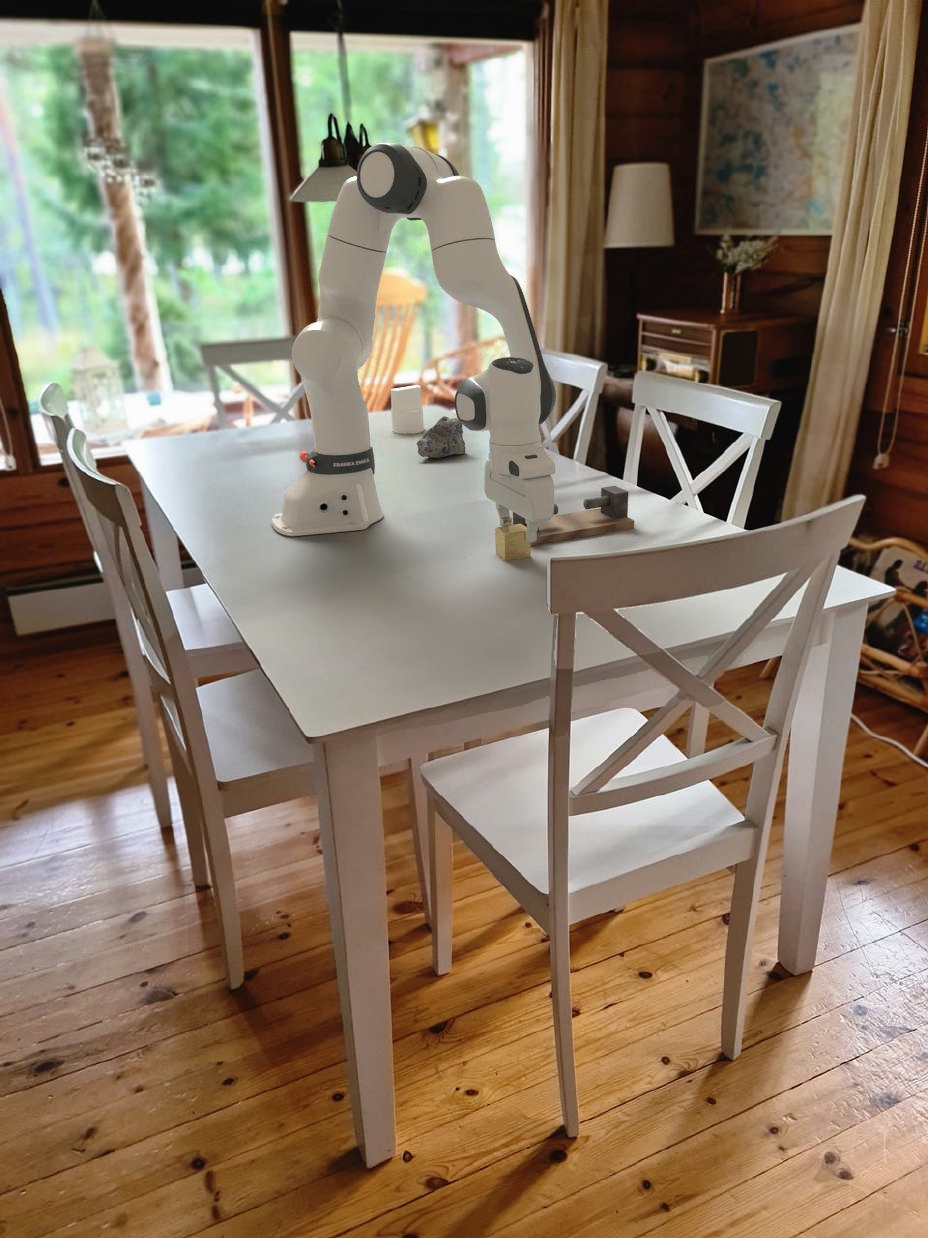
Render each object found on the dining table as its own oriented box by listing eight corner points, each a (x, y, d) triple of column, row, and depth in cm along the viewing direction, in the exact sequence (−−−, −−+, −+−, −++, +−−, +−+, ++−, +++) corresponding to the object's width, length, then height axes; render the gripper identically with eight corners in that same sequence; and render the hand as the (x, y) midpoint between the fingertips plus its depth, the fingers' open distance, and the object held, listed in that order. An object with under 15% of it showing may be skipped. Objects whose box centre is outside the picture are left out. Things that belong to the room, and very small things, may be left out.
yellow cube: (505, 561, 162) (504, 533, 160) (495, 554, 166) (495, 527, 164) (530, 556, 164) (530, 529, 162) (520, 550, 167) (520, 523, 165)
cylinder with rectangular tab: (411, 425, 271) (409, 383, 266) (430, 430, 264) (428, 387, 259) (386, 430, 266) (383, 388, 261) (404, 435, 259) (402, 391, 254)
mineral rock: (418, 462, 229) (416, 422, 225) (413, 453, 239) (411, 414, 235) (469, 459, 231) (468, 419, 227) (463, 449, 241) (461, 410, 237)
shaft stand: (530, 545, 169) (530, 511, 166) (507, 530, 178) (507, 497, 175) (634, 527, 176) (635, 494, 174) (607, 514, 185) (608, 482, 182)
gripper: (473, 447, 166) (477, 521, 171) (526, 471, 148) (528, 553, 154) (505, 443, 168) (507, 516, 173) (560, 466, 151) (561, 546, 156)
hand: (517, 533), depth 164 cm, fingers open, 8 cm apart
